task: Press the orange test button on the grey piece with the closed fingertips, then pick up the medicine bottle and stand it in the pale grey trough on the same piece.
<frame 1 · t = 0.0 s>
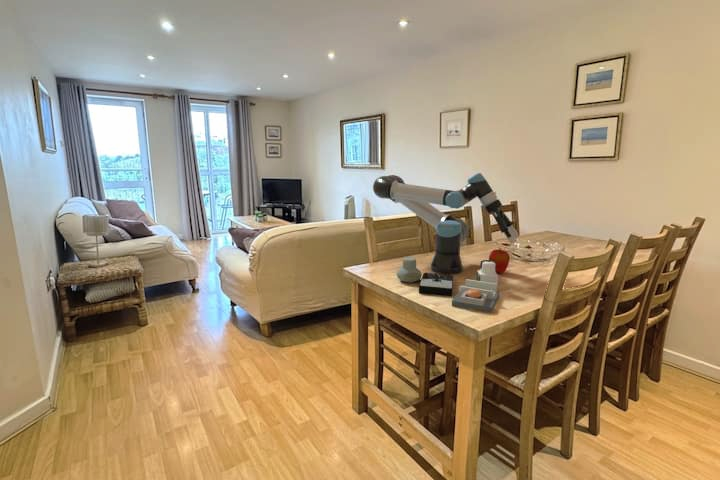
hand: (515, 240, 179), 15 cm above the table, tool tilted 35°, fingers open, 13 cm apart
grey piece: (476, 300, 143), on the table
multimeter: (436, 288, 158), on the table
medicine bottle: (486, 289, 156), on the table
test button: (474, 293, 137), point 4 cm above the table, slide at 0.0 cm
air freshener: (408, 281, 166), on the table
apple: (498, 273, 179), on the table
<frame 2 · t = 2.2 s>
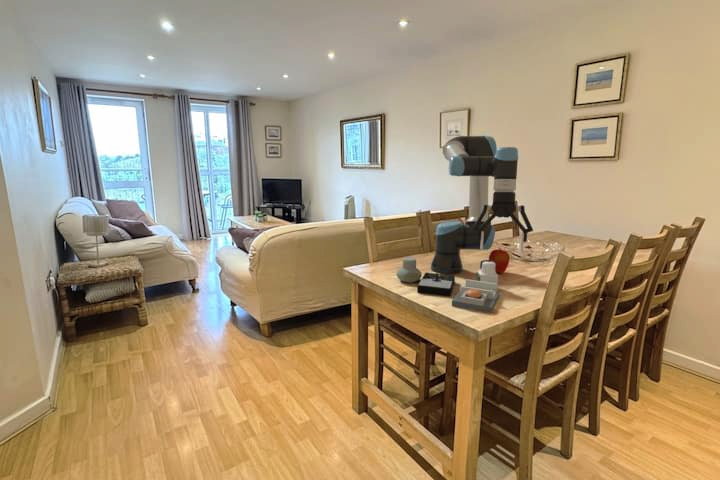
hand: (501, 250, 137), 20 cm above the table, tool pointing down, fingers open, 13 cm apart
nothing on the table moved.
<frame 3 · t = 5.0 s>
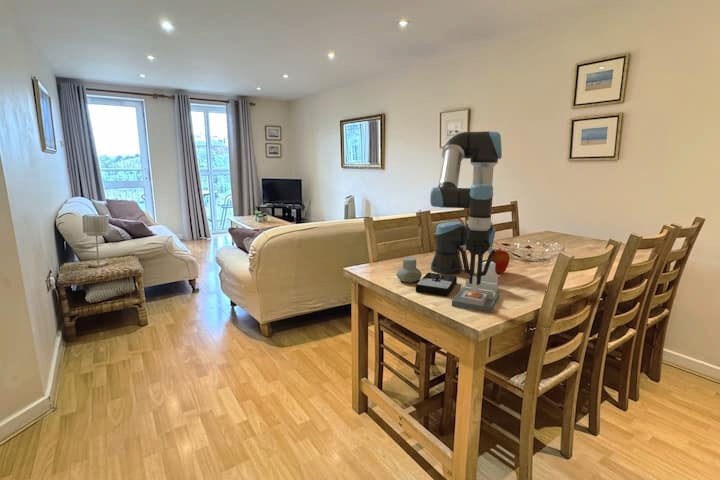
hand: (474, 292, 137), 5 cm above the table, tool pointing down, fingers closed
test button: (474, 295, 137), point 4 cm above the table, slide at -0.7 cm, touching gripper
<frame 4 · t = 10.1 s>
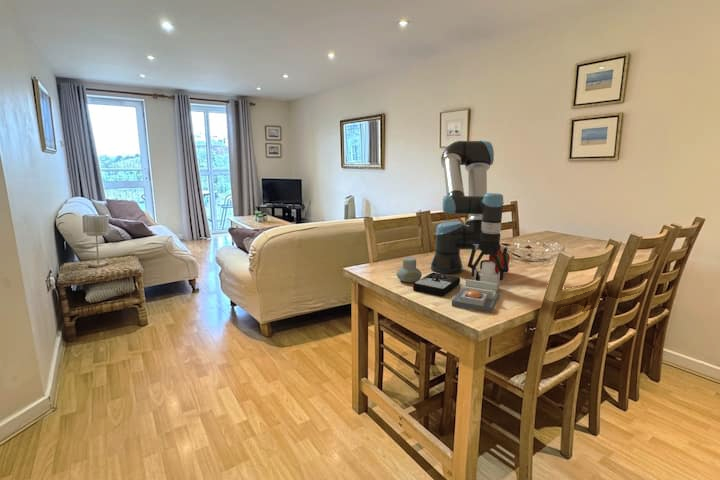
hand: (486, 285, 156), 1 cm above the table, tool pointing down, fingers closed on medicine bottle, 9 cm apart
medicine bottle: (486, 289, 156), on the table, touching gripper
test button: (474, 295, 137), point 4 cm above the table, slide at -0.5 cm
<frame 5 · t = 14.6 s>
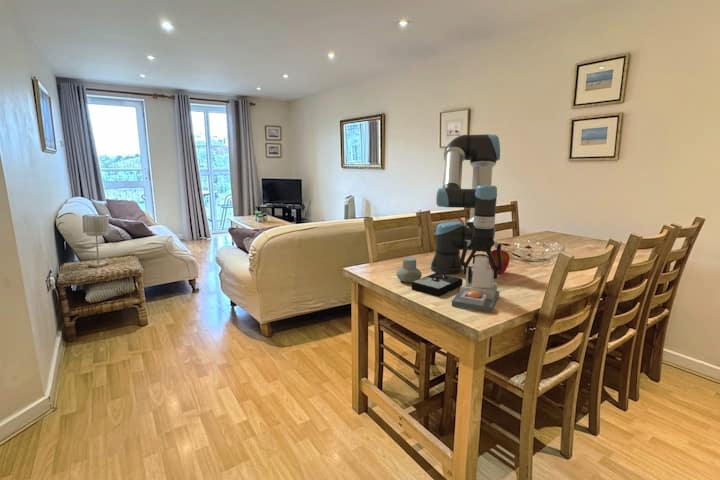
hand: (479, 284, 145), 5 cm above the table, tool pointing down, fingers closed on medicine bottle, 8 cm apart
medicine bottle: (479, 285, 145), point 5 cm above the table, touching grey piece, gripper
when the fingers open (5 cm above the table, at t = 14.9 s): medicine bottle stays where it is, resting on grey piece.
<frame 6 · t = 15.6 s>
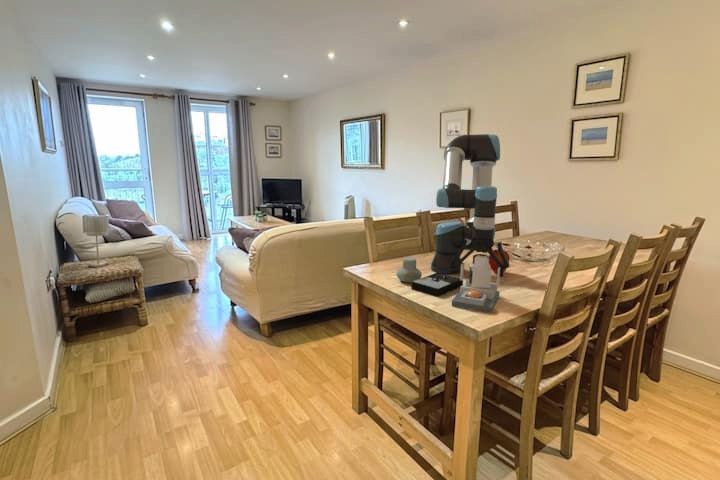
hand: (479, 282, 145), 6 cm above the table, tool pointing down, fingers open, 13 cm apart
medicine bottle: (479, 285, 145), point 5 cm above the table, touching grey piece
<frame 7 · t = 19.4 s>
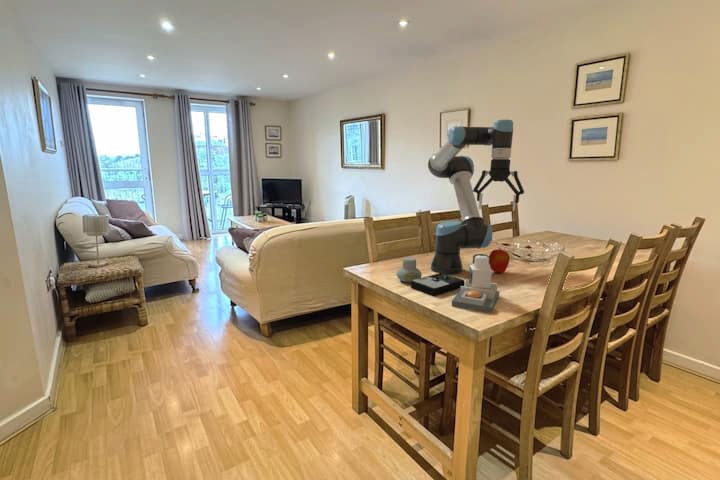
hand: (496, 209, 160), 32 cm above the table, tool pointing down, fingers open, 13 cm apart
at the end: medicine bottle inside the target area on the grey piece (0.1 cm from its centre), point 4.8 cm above the grey piece's base; medicine bottle tilted 0°; the gripper is holding nothing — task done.
